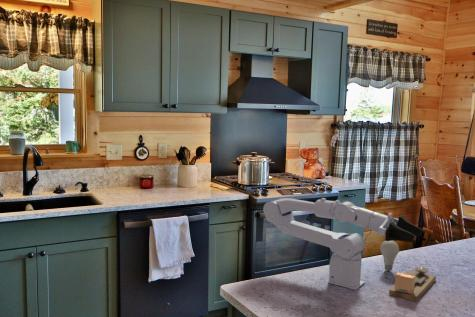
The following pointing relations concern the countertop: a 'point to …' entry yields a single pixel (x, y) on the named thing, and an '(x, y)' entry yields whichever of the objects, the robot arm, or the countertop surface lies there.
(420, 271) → the dished metal disc
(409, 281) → the forked latch lever
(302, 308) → the countertop surface
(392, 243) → the lightbulb
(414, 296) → the wooden board
